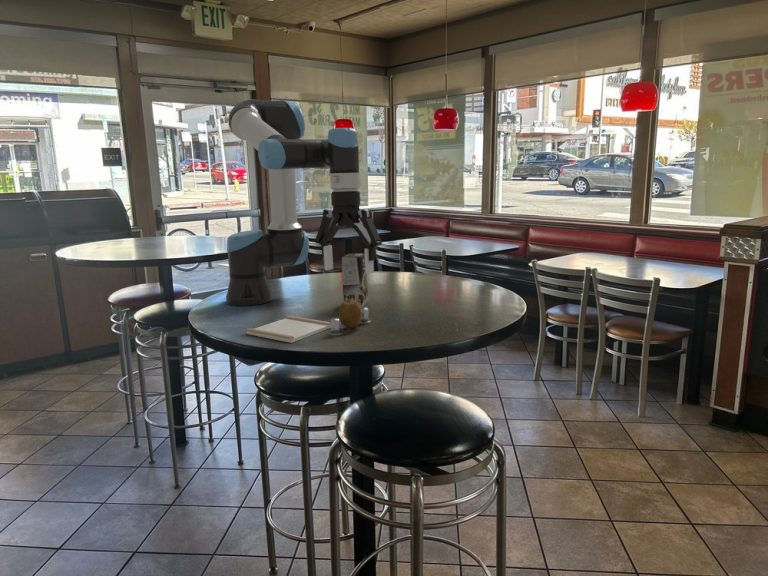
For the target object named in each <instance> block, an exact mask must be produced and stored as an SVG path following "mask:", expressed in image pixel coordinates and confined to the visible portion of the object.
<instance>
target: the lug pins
mask: <svg viewBox="0 0 768 576" xmlns="http://www.w3.org/2000/svg"><path fill="white" fill-rule="evenodd" d="M360 309H361V320H360V322H359V324H360V325H367V324H371V322H372V320H371V319H370V318H369V315H370V314H369V308H368V307H362V308H360ZM329 322H331V328H330V331H329V332H328V336H330V337H340V336H342V335H343V331H342V330H341V321H340V319H339V317H334V318H333V317H332V318H330V321H329ZM359 324H358V325H359Z"/></svg>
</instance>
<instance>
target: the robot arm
mask: <svg viewBox="0 0 768 576" xmlns="http://www.w3.org/2000/svg"><path fill="white" fill-rule="evenodd" d="M227 121H228V127H229V130H230V131H231V132H232V134H233V135H235V136H236V137H237V138H238V139H240V140H242V141H246V142H247V143H248V144H249V145H251V146H252V147H253V148H254V149H255V150H256V151H257V156H258V160H259V163H260V166H261V167H262V168H263V169H265V170H268V175H269V176H268V180H269V195H270V213H271V214H270V216H271V217H270V218H271V219H270V220H271V223H269V224H268V226H267V227H266V228H267V232H266V233H264V231H263V230H262V229H250V230H243V231H239V232H235V233H232V234H231V235H229V236H228V238H226V243H227V244H226V252H227V259H228V260H227V261H228V273H229V281H228V282H229V283H228V287H227V293H226V295H225V300H226V304H227V305H229V306H236V307H237V306H238V307H239V306H240V307H247V306H248V307H249V306H257V305H262V304H267V303H269V302H272V301H273V292H272V291H271V288H270V284H269V282H268V280H267V277H266V276H267V275H266V269H271V268H279V267H293V266H297V265H301V264H303V263H304V262H305V261H306V259H307V258H308V255H309V251H310V249H309V248H310V241H309V235H308V233H307V231H305V230H303V226H302V225H301V224H300V223H299V222H298V208H297V204H298V203H297V187H296V186H297V185H296V183H297V182H296V181H297V180H296V169H299V170H300V169H320V170H323V169H326V170H327V169H329V173H330V174H329V176H330V177H329V178H330V181H329V182H330V190H333V191H331V193H330V200H331V201H330V202H331V206H332V208H325V209H323V210H322V220H321V223H320V224H319V225H320V226H319V227H318V231H317V234H316V236H315V240H314V242H315V244H319V245H320V246H321V256H322V258H323V262H324V263H323V264H324V271H330V270H334V261H333V260H334V257H333V256H334V255H333V245H332V244H331V242H332V241H333V239H334V237H336V235H337V232H338V231H339V229H340V228H341V227H348V228H350V227H351V228H352V229H353V230H354V231H355V232H356V233H357V234H358V236H359V237H360V239H361V241H362V242H363V244H365V246H366V248H364V253H365V273H366V274H368V275H369V274H373V273H374V272H375V266H374V265H375V264H374V261H376V255H377V254H376V253H377V252H376V248H377V247H379V246H383V245H382V244H383V241H382V239H381V237H380V235H379V232H378V230H377V228H376V225H375V224H374V221H373V219H372V218H373V217H372V214H371V209H370V208H365V209H361V208H360V206H361V205H360V204H361V192H360V190H358V189H360V188H361V185H360V183H361V182H360V181H361V180H360V160H359V159H360V157H359V156H360V155H359V154H360V153H359V151H360V149H359V146H360V145H359V139H358V138H359V137H358V132H357V130H356V129H355V128H350V127H337V128H330V129H329V130H328V133H327V138H326V139H316V138H315V139H309V138H308V139H307V138H305V139H302V138H303V137H304V136H305V130H306V124H305V117H304V113H303V111H302V109H301V107H300V105H299V104H297V103H296V102H295V101H290V100H284V99H281V100H278V99H277V100H276V99H246V100H245V99H244V100H242V101H240V102H238V103H237V104H236V105H234V106H233V108H231V109H230V111H229V114H228V119H227ZM360 218H361V219H362V220H361V219H360Z"/></svg>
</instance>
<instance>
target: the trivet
mask: <svg viewBox="0 0 768 576" xmlns="http://www.w3.org/2000/svg"><path fill="white" fill-rule="evenodd" d="M328 329H331V321H325V320H324V321H323V320H320V319H319V320H317V319H314V318H313V319H312V318H307V317H306V318H305V317H300V316H296V315H295V316H293V315H286V316H285V318H283V319H279V320H276V321H273V322H269V323H267V324H264V325H260V326H259V327H255V328H251V327H248V328H246V335H249V336H256V337H260V338H266V339H271V340H275V341H281V342H287V343H290V344H291V343H294V342H297V341H300V340H302V339H305V338H308V337H310V336H313V335H315V334H318V333H321V332H323V331H326V330H328Z"/></svg>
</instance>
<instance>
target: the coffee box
mask: <svg viewBox="0 0 768 576" xmlns="http://www.w3.org/2000/svg"><path fill="white" fill-rule="evenodd" d="M341 273H342V275H341V277H342V301H343V302H345V301H347V300H349V299H350V300H352V301H355V302H357V303H358V304H359V306H360V308H364V306H365V305H366V304H368V302H369V280H368V279H369V277H368V275H369V274H366V273H365V252H360V253H359V252H358V253H357V252H355V253H347V254H346V255H343V256H342V257H341ZM343 302H342V303H343Z"/></svg>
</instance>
